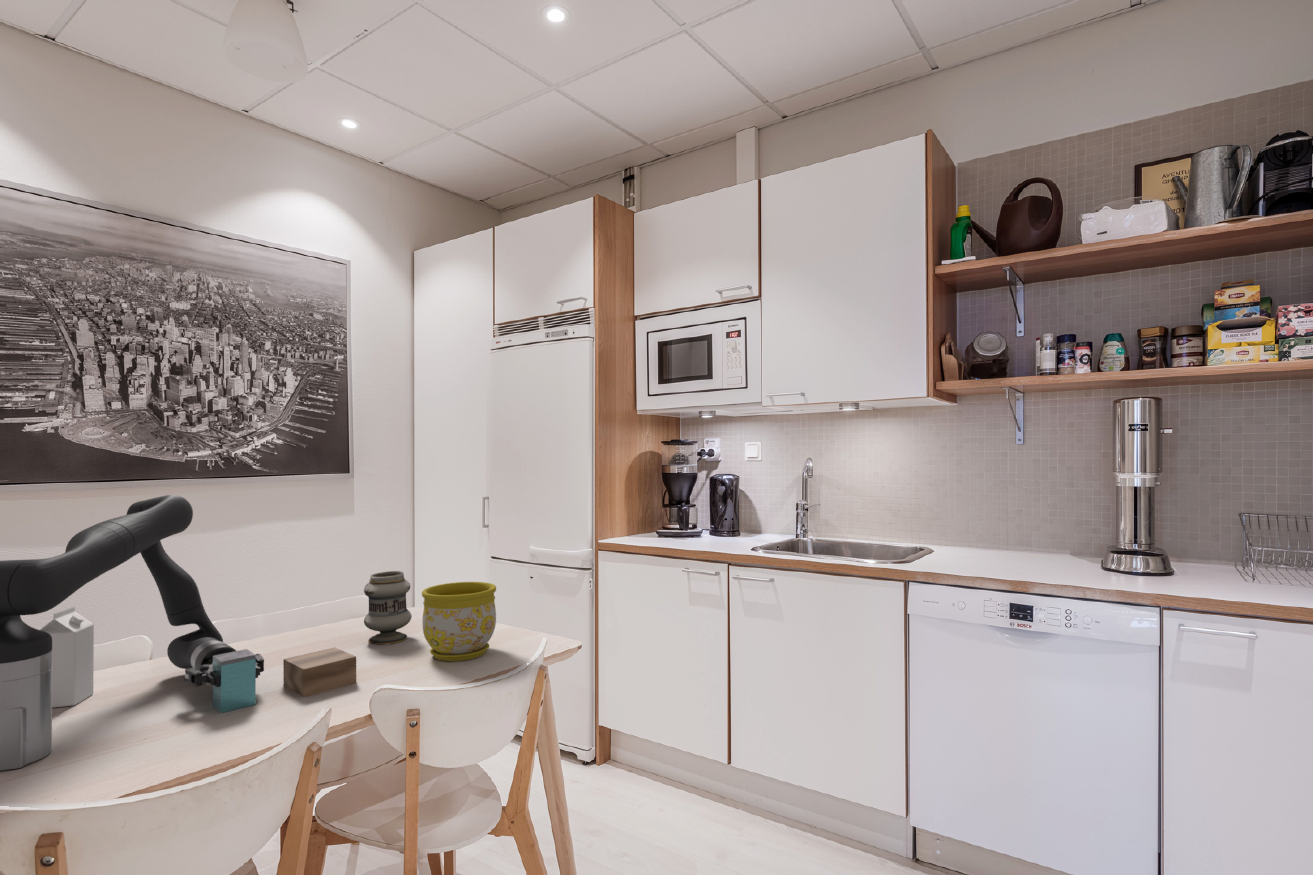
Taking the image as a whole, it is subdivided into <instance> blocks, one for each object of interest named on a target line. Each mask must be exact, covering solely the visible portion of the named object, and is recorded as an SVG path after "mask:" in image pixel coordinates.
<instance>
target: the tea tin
mask: <svg viewBox="0 0 1313 875" xmlns="http://www.w3.org/2000/svg"><path fill="white" fill-rule="evenodd" d="M255 654H256V653H254V652H252V651H250V650H248V649H247V648H245V649H240V650H236V651H234V652H229V653H224V654H219V655H214V656H213V670H214V672H216V673H217V674H219V675H220V687H215V686H212V706H213V707H214V708H215V709H216V710H218V712H219V713H220V714H224V713H227V712H231V711H235V710H239V709H243V708H248V707H251V706H255V705H256V703H257V702H256V698H257V697H256V696H257V695H256V693H257V692H256V688H257V687H256V684H257V683H256V679H257V678H256V655H255Z"/></svg>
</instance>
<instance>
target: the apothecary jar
mask: <svg viewBox="0 0 1313 875" xmlns="http://www.w3.org/2000/svg"><path fill="white" fill-rule="evenodd" d="M404 575H405V574H404V571H400V570H389V571H381V572H376V573H373V574H371V575H370V576H369V577H370V578H369V581H368V583H366V585H365V586H364V588H363V593H364V594H365V595H366V597H368V613H367V614H366V615H365V617H364V619H363V623H364V626H365V627H367V629H369V630H371V631H374V632H379V633H377V634H375V635H373V636H371V637H369V639H368V643H369V644H373V645H375V644H376V645H378V646H379V645H381V646H382V645H392V644H397V643H401V642H403V641H405V640H407V639H408V635H407V634H406V633H403V632H400V631H397V630H400V629H403V628H404V627H405V626H407V625H408V624H409V623H410V622H411V620H412V613H411V611H410V610H409V609H408V608H407V593H408V592H410V589H411V583H410V582H409V580H407V579H406V578H405V576H404Z"/></svg>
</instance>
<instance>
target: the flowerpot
mask: <svg viewBox="0 0 1313 875" xmlns="http://www.w3.org/2000/svg"><path fill="white" fill-rule="evenodd" d="M495 592H497V586H496V585H495V584H494V583H490V582H484V581H460V582H449V583H448V582H447V583H442V584H437V585H432V586H428V587H427V588H424V589H422V592H421V596H422V598H423V610H422V632H423V636H424V638H425V640H426V642H427V644H428V645H429V646H430V647H431V648H430V649H429V652H430V654H431V655H432V656H433V657H434V659H436V660H439V661H445V662H460V661H461V662H462V661H468V660H472V659H477V658H479V657H482V656H483V655H484V654H485V653H486V652H487V650H489V648H490V644H489V643H488V642H490V640H491V639H492V636H493V635H494V632H495V629H496V625H497V624H496V623H497V611H496V602H495V599H496V596H495Z"/></svg>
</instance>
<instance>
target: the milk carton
mask: <svg viewBox="0 0 1313 875" xmlns="http://www.w3.org/2000/svg"><path fill="white" fill-rule="evenodd" d="M94 627H95V625H94V623H93V622H92V621H90V620H89V619H87V618H86V617H84V616H83V615H82V614H80V613H78V612H77V611H76V607H75V606H72V607H69V608H65V609H63V610H60V611H57V612H56V613H53V619H52V620H50V621H49V622H48V623H47V624H46V625H44V626H43V627H41V629H39V630H41V631H44V632H47V633H49V634H50V635H51V636H52V709H53V708H61V707H62V708H63V707H69V706H70V707H72V706H76V705H78V704H79V703H81V702H82V701H84V700H86V699H87V698H89V697H91V696H92V695H93V694H94V663H95V662H94V659H95V658H94V650H95V646H94V645H95V644H94V643H95V642H94V640H95V638H94V637H95V636H94V633H95V628H94Z"/></svg>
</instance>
